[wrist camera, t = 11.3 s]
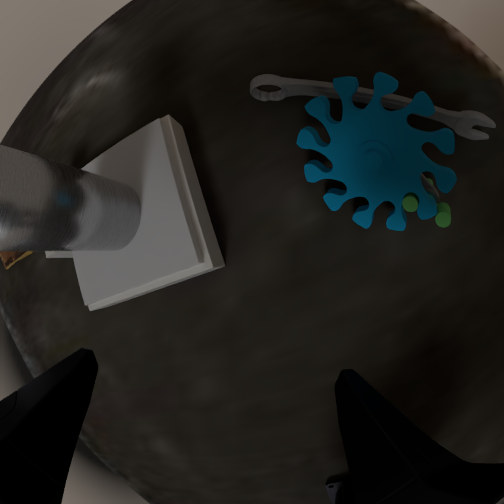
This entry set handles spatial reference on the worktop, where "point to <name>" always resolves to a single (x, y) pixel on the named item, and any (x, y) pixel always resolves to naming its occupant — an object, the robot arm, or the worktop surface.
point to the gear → (379, 155)
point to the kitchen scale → (150, 220)
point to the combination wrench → (293, 87)
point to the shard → (12, 257)
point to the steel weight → (62, 207)
